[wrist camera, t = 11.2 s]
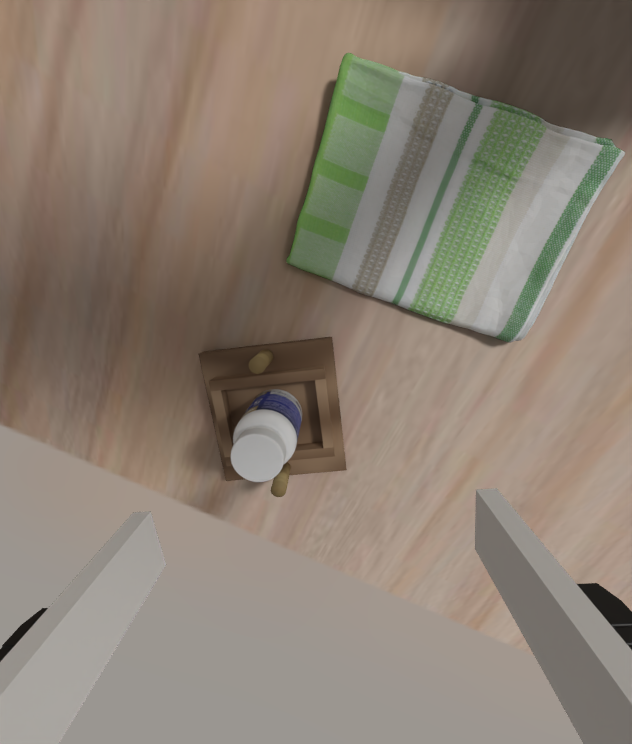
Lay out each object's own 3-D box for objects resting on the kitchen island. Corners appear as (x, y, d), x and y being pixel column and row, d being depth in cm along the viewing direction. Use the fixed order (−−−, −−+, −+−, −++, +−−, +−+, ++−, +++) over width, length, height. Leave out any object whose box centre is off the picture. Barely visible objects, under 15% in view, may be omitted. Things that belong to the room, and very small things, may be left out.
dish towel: (508, 344, 30) (531, 351, 27) (285, 270, 29) (280, 266, 26) (600, 155, 26) (641, 134, 23) (344, 60, 25) (347, 23, 22)
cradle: (203, 351, 31) (179, 362, 26) (331, 336, 30) (332, 345, 25) (229, 474, 34) (212, 505, 29) (345, 464, 34) (349, 494, 29)
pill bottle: (260, 380, 30) (234, 414, 22) (310, 399, 31) (303, 440, 22) (243, 426, 32) (212, 476, 23) (291, 444, 32) (278, 499, 23)
